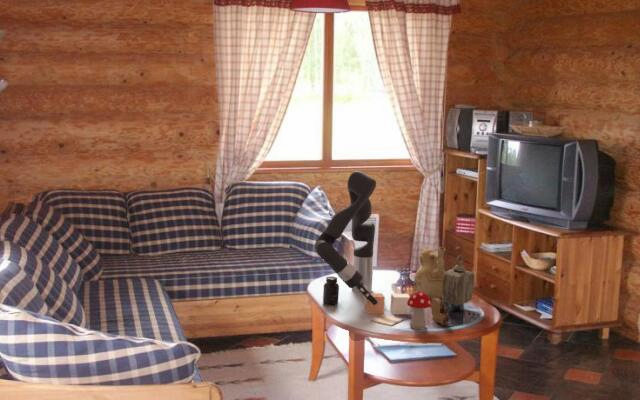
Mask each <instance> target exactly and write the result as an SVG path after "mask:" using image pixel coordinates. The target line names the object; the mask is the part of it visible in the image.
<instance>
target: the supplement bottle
mask: <svg viewBox="0 0 640 400" xmlns="http://www.w3.org/2000/svg"><path fill="white" fill-rule="evenodd" d="M339 291H340V285H339V284H338V277H336V276H327V277H326V280H325V283H324V285H323V293H322V294H323V296H322V304H323V305H325V306H328V307H329V306H330V307H331V306H334V307H335V306H337V305H338V304H339V295H340V292H339Z"/></svg>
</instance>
